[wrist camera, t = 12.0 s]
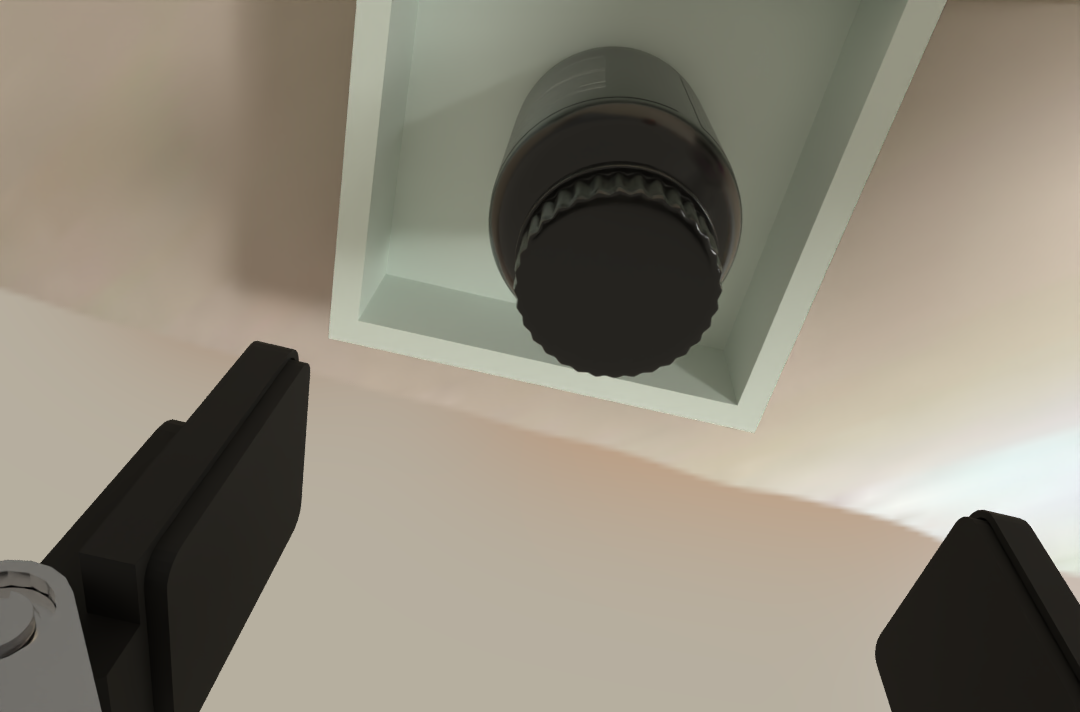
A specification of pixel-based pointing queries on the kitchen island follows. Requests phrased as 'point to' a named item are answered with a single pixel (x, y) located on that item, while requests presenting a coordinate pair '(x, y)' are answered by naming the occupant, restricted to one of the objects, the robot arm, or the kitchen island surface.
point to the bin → (484, 131)
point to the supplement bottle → (614, 213)
